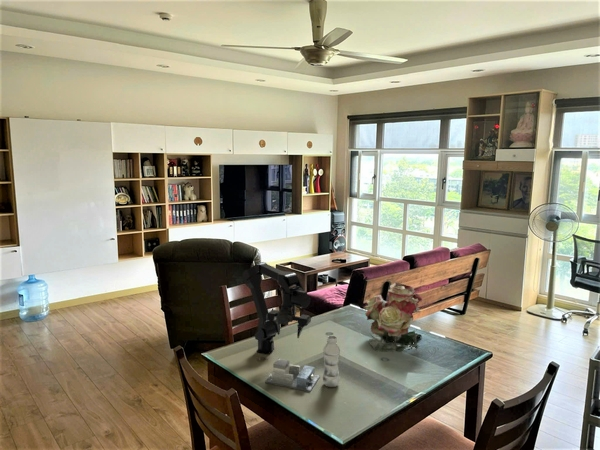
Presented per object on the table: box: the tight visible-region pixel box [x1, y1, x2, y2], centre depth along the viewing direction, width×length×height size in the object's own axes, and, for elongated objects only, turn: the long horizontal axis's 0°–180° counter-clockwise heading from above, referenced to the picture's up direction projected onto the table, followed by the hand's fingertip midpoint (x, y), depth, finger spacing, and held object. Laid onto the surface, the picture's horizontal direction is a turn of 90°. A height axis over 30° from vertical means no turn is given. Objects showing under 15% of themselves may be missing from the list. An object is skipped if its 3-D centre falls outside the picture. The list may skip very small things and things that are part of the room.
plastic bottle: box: [322, 335, 341, 388], centre depth 172 cm, size 6×7×20 cm
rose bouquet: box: [363, 282, 424, 353], centre depth 210 cm, size 26×29×30 cm
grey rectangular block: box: [272, 357, 290, 374], centre depth 179 cm, size 5×5×6 cm
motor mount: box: [265, 363, 321, 393], centre depth 177 cm, size 19×12×5 cm, turn 70°
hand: (288, 336), depth 191 cm, fingers open, 9 cm apart
